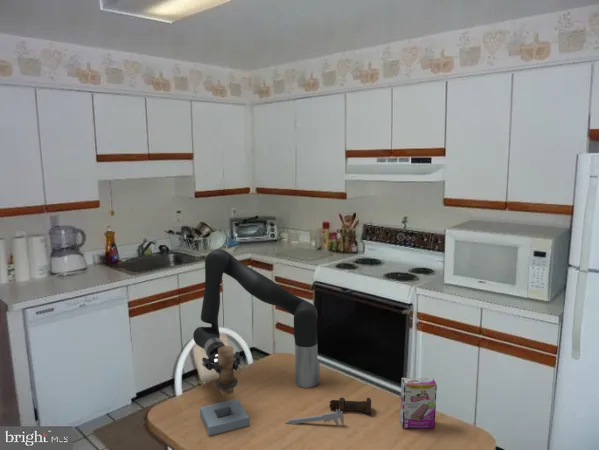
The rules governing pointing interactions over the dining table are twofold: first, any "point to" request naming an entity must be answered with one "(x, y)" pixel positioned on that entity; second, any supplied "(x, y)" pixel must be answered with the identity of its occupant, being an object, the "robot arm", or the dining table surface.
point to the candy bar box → (418, 403)
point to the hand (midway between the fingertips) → (228, 369)
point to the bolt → (351, 405)
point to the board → (226, 423)
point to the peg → (226, 370)
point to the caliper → (320, 418)
